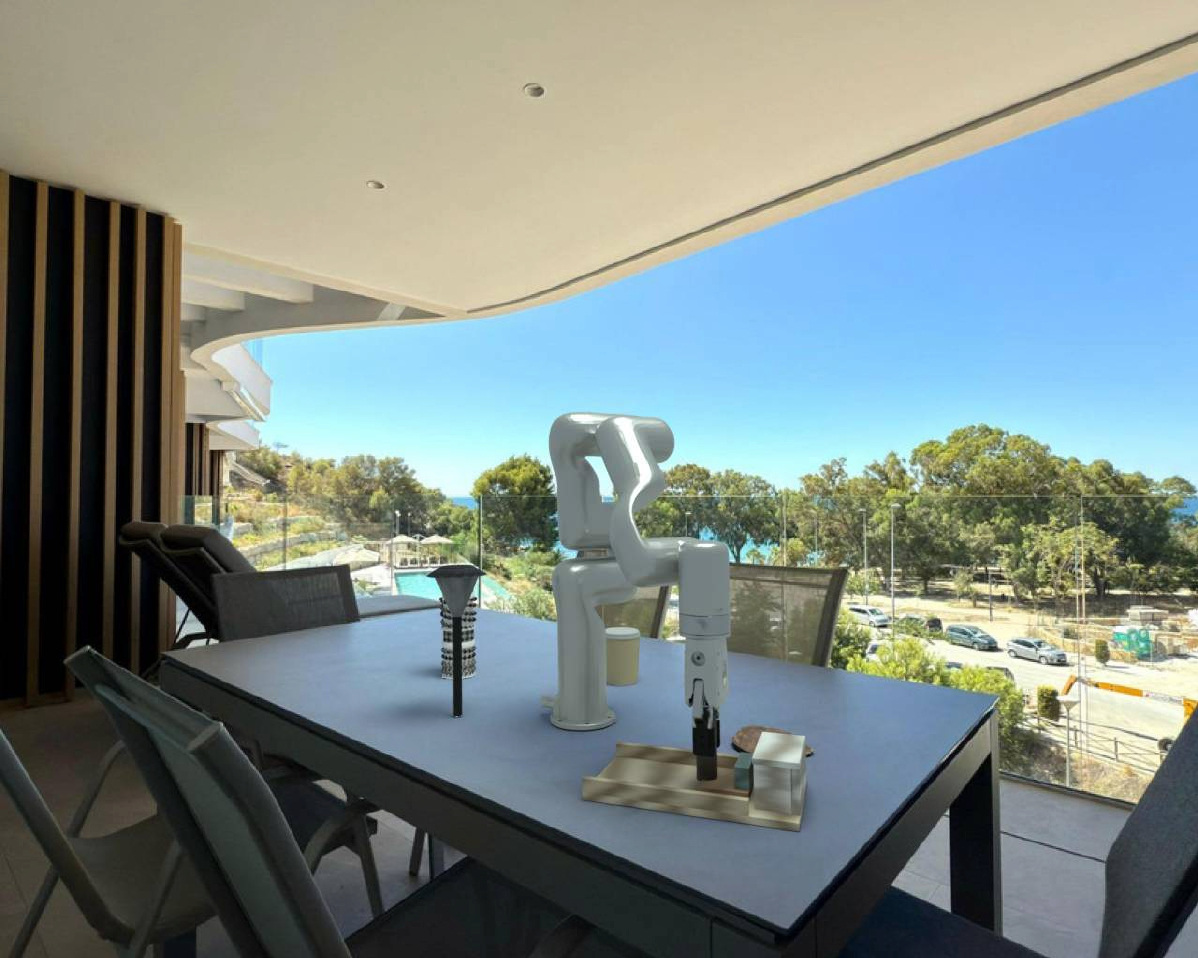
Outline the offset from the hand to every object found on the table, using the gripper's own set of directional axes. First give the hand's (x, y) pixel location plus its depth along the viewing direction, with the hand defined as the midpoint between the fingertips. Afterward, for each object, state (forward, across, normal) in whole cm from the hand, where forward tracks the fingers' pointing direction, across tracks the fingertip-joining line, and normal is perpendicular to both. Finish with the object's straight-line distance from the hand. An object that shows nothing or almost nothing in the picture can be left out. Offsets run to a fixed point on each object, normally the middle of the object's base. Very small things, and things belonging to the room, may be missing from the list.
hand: (706, 749), depth 102 cm
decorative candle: (+7, +48, +72) cm, 86 cm away
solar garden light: (+7, +20, +54) cm, 58 cm away
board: (+6, 0, +2) cm, 6 cm away
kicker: (+5, 0, -2) cm, 6 cm away
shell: (+7, +22, -6) cm, 23 cm away
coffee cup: (+7, +55, +32) cm, 64 cm away
